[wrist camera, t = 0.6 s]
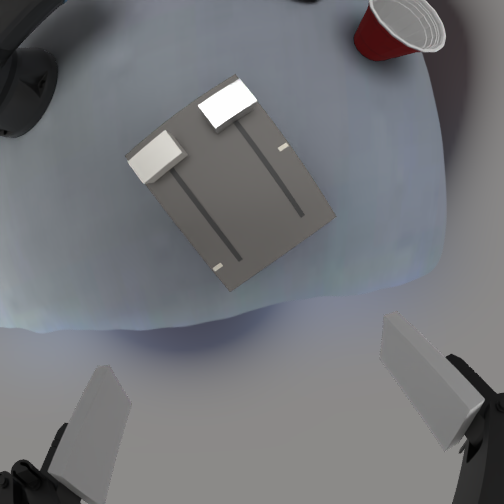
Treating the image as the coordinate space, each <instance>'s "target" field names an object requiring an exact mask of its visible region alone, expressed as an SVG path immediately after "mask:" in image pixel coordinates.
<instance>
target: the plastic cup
mask: <svg viewBox="0 0 504 504" xmlns="http://www.w3.org/2000/svg"><path fill="white" fill-rule="evenodd" d="M445 38H446V34H445V30H444V26H443V23H442V21H441V19H440V18H439V16H438V14H437V13H436V11H435V10H434V9H433V8H432V7H431V6H430V5H429V3H428V2H427V1H426V0H369V6H368V9H367V11H366V13H365V15H364V17H363V18H362V20H361V22H360V25H359V27H358V29H357V31H356V33H355V35H354V44H355V46H356V48H357V50H358V51H359V52H360V53H361V54H362V55H363V56H365V57H366V58H368V59H370V60H374V61H382V60H387V59H390V58H396V57H399V56H403V55H407V54H411V53H415V52H437V51H438V50H439V49H441V48H442V47H443V46H444V43H445Z"/></svg>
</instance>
